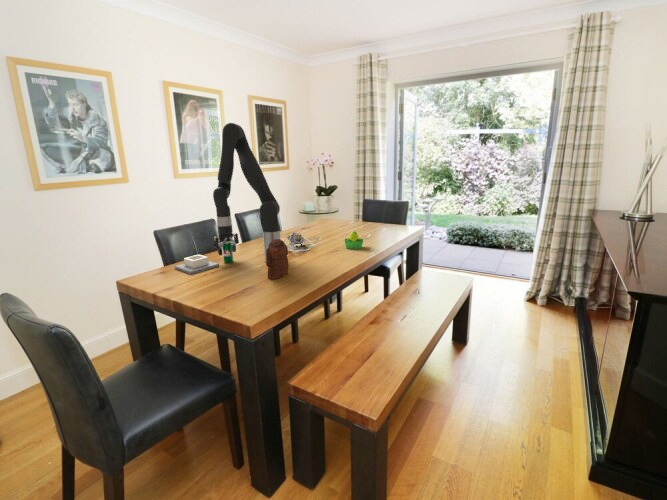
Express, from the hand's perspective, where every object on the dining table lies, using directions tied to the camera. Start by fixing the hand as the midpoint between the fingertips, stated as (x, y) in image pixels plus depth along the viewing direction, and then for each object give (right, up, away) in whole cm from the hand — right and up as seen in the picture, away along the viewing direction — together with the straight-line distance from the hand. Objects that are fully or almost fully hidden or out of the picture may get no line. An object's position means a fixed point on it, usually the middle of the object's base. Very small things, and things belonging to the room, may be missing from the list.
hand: (227, 253), depth 192 cm
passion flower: (+35, +4, +30) cm, 46 cm away
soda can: (0, -5, +1) cm, 5 cm away
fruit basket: (+71, +3, +24) cm, 75 cm away
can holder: (-14, -7, -8) cm, 17 cm away
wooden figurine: (+31, -11, -23) cm, 40 cm away
